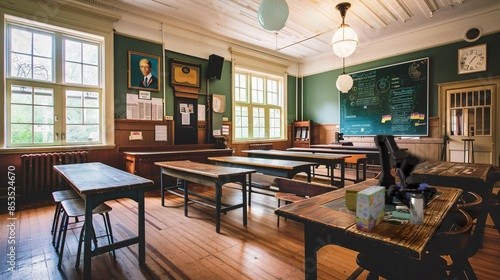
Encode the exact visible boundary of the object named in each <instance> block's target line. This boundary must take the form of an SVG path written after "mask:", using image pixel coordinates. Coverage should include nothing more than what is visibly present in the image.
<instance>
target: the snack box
mask: <svg viewBox="0 0 500 280" xmlns="http://www.w3.org/2000/svg"><path fill="white" fill-rule="evenodd" d="M359 191H360V192H358V193H357V211H355V212H356V217H355V222H356V223H355V230H358V231H363V232H365V233H369V232H371V231H372V230H373V229H374V228H376V226H378V225H379V224H381V223H382V222H383V221H384V220H385V187H381V186H377V185H372V186H370V187H367V188H364V189H363V190H359Z"/></svg>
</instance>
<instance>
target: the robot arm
mask: <svg viewBox="0 0 500 280" xmlns="http://www.w3.org/2000/svg"><path fill="white" fill-rule="evenodd" d="M373 142H374V145H375V147H376V148H377V149H378V154H379V164H380V176H379V177H378V183H377V184H376V186H381V187H385V204H387V205H393V203H394V199H396V200H398V201H400V202H401V203H402V204H403V205H404V206H406V207H408V208H409V209H411V206H410V200H409V199H407V196H406V194H421V198H423V209H424V210H426V211H427V210H428V204H429V203H428V200H429V199H428V198H430V199H433V198H434V197H435V196H436V195H437V194H438V190H437V188H436V187H435V186H430V187H425V188H424V189H423V190H418V188H419V187H420V184H423V183H425V184H426V183H427V181H428V179H427V176H426V175H425V174H420V175H413V173H414V172H415V171H416V169H417V168H418V166H419V164H420V160H419V158H418V157H415V155H412V153H411V154H410V153H409V154H405V153H403V152H401V150H400V148H399V146H398V144H397V142H396V140H395V135H394V134H376V135H375V136H374V137H373ZM391 167H392V168H393V169H397V170H396V173H395V176H394V175H392V172H391ZM396 177H398V180H399V184H400V186H402V188H401V187H400V186H397V184H398V183H397V182H396ZM394 197H395V198H394ZM385 204H384V205H385Z"/></svg>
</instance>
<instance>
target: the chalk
mask: <svg viewBox="0 0 500 280" xmlns="http://www.w3.org/2000/svg"><path fill="white" fill-rule="evenodd" d="M395 207H396V208H395V209H396V210H402V211H403V210H406V211H409V208H408V207H405V205H404V206H401V205H398V206H397V205H396V206H395Z"/></svg>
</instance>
